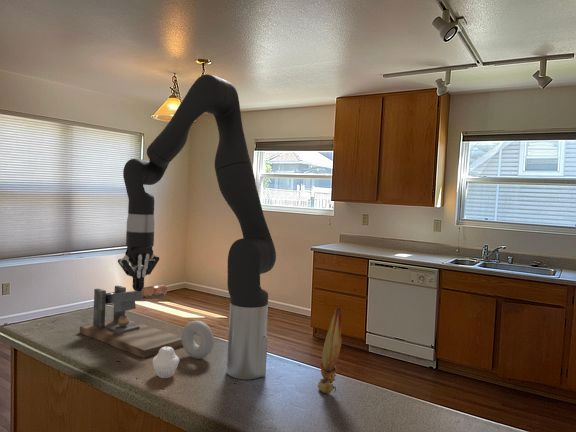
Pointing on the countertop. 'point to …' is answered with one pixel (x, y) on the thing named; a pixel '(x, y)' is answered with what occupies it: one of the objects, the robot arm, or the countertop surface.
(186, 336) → the donut
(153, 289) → the lever
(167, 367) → the white rounded bulbous piece
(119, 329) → the cracker base
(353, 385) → the countertop surface
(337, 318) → the tan tall pointed piece
